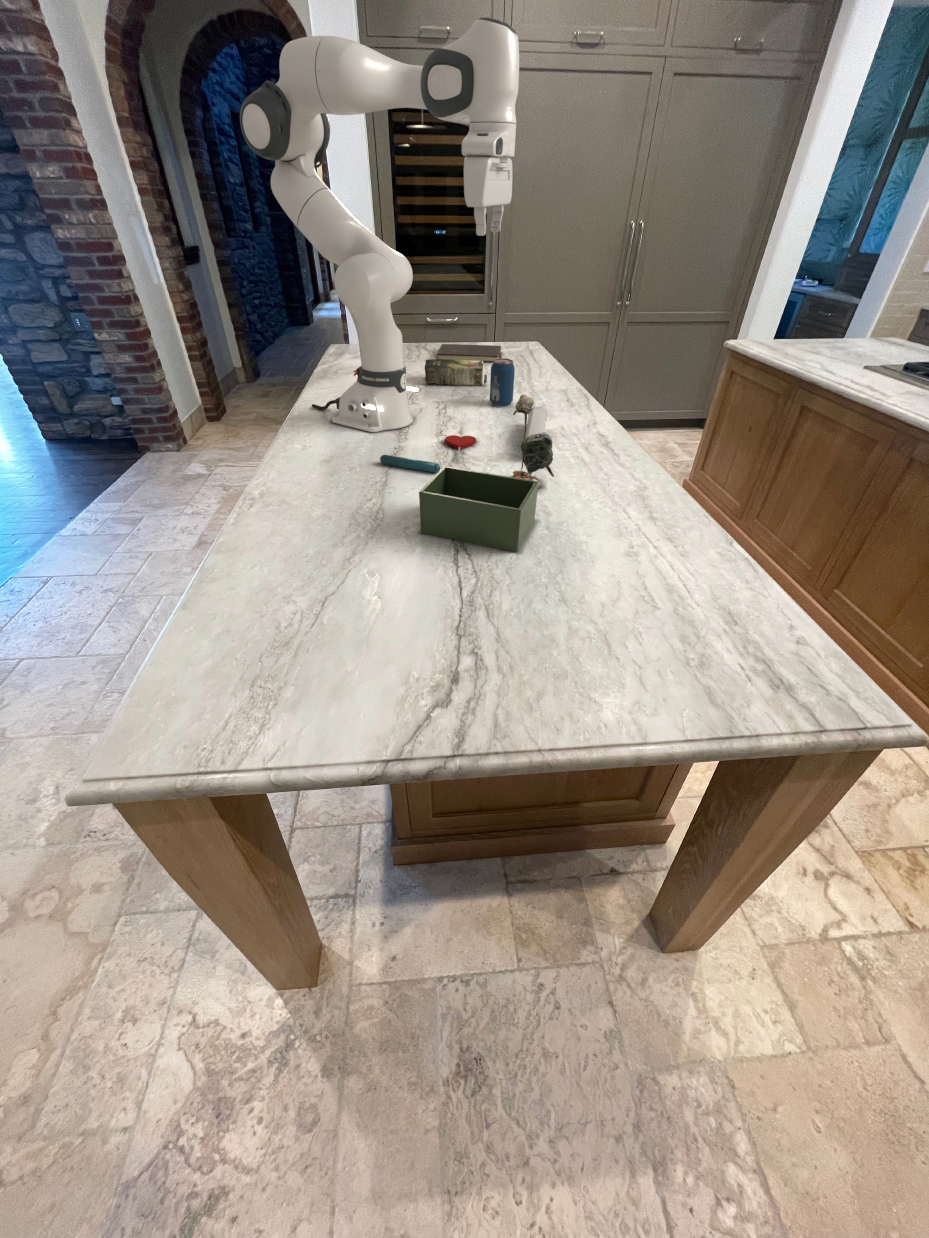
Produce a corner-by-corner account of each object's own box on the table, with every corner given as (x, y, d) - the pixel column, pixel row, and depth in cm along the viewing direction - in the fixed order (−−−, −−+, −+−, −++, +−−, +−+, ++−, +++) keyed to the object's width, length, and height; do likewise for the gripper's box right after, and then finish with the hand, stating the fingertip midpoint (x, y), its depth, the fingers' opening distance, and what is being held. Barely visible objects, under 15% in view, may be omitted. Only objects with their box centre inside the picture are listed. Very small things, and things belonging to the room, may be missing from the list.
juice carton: (485, 377, 182) (485, 357, 178) (486, 386, 175) (487, 366, 171) (426, 377, 182) (425, 358, 178) (425, 386, 175) (424, 366, 171)
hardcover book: (498, 362, 197) (498, 355, 196) (436, 360, 199) (436, 353, 197) (500, 351, 209) (500, 345, 208) (442, 349, 211) (442, 343, 210)
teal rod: (378, 465, 126) (377, 456, 125) (383, 461, 128) (382, 452, 126) (438, 475, 122) (438, 465, 121) (441, 471, 124) (441, 462, 122)
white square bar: (546, 447, 125) (550, 410, 144) (525, 438, 125) (532, 403, 144) (536, 466, 129) (542, 428, 148) (516, 458, 128) (524, 421, 147)
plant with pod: (551, 496, 115) (563, 400, 102) (498, 491, 116) (504, 396, 103) (553, 480, 121) (565, 387, 108) (504, 475, 122) (509, 383, 110)
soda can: (512, 400, 164) (515, 358, 156) (512, 408, 158) (514, 364, 151) (490, 399, 164) (491, 357, 156) (488, 407, 159) (490, 363, 151)
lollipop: (474, 462, 127) (476, 439, 139) (474, 459, 127) (476, 435, 138) (440, 461, 128) (445, 438, 139) (440, 458, 127) (445, 434, 139)
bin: (420, 532, 102) (418, 491, 97) (444, 504, 111) (444, 465, 106) (517, 552, 97) (520, 510, 92) (534, 521, 106) (538, 481, 101)
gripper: (492, 147, 110) (489, 229, 119) (458, 142, 96) (457, 236, 104) (522, 147, 109) (516, 231, 118) (491, 142, 94) (488, 238, 103)
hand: (488, 233), depth 111 cm, fingers open, 8 cm apart
